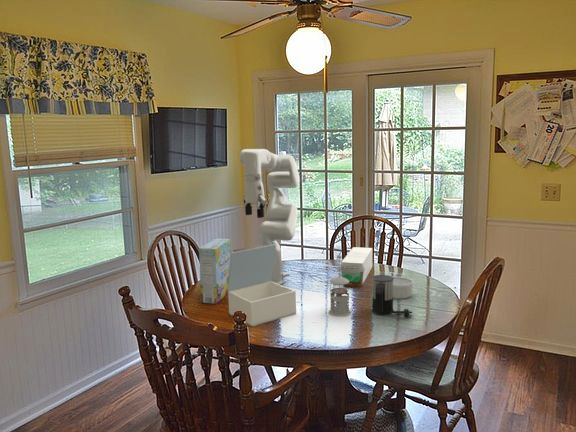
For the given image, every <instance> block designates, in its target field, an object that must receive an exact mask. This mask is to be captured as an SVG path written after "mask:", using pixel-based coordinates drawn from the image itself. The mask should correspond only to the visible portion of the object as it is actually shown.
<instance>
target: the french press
mask: <svg viewBox="0 0 576 432" xmlns="http://www.w3.org/2000/svg"><path fill="white" fill-rule="evenodd" d="M336 258H337V259H338V276H337V277H333V278H332V279H330V280H329V282H330V285H329V292H330V294H329V295H330V296H329V297H330V309H329V310H328V311H327V314H328V315H330V316H331V317H338V318H341V317H343V318H344V317H349V316H350V315H351V314H352V311H351V310H350V294H349V289H348V288H346V287H341V286H343V285H346V284H348V283H349V280H347V279H346V278H343V277H341V272H340V271H341V270H340V267H341V262H340V260H341V259H342V255H341V254H338V255H336ZM332 285H333V287H332ZM335 286H338V287H335ZM331 287H332V288H331Z"/></svg>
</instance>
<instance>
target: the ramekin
mask: <svg viewBox="0 0 576 432" xmlns="http://www.w3.org/2000/svg"><path fill="white" fill-rule="evenodd" d="M393 277H394V279H393V299H395V300H404V299H405V300H406V299H408V298H410V297H411V296H412V292H413V286H414V280H413V279H412V278H409V277H404V276H393Z"/></svg>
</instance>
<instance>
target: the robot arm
mask: <svg viewBox="0 0 576 432" xmlns="http://www.w3.org/2000/svg"><path fill="white" fill-rule="evenodd" d="M238 157H239V162H240V163H241V165H242V166H243V168H244V169H243V170H244V173H243V174H244V195H243V196H242V200H243V203H244V209H245V210H244V211H245V216H251V215H252V214H253V207H252V205H255V206H256V208H257V209H256V213H257V214H256V217H257V218H258V219H262V218H264V217H265V215H266V220H265V221H262V222H261V223H260V225H259V228H258V232H259V238H260V242H261V243H260V245H263V246H268V245H273V244H276V247H275V255H274V262H273V270H272V278H271V281H272V282H275V283H277V284H280V285H282V286H283V285H284V284H285V282H286V280H285V278H286V277H289V276H290V275H291V274H290V272H288V271H287V272H282V249H281V246H280V244H279V242H278V241H280V242H281V241H283V242H284V241H285V242H287V241H291V240H293V239H294V236H295V232H296V228H297V227H296V226H297V222H298V216H299V215H298V214H299V210H298V208H297V206H296V205H295V204H293V203H287V196H286V195H285V193H284V192H283V191H282V190H281V189H294V188H298V187H299V185H300V182H301V181H300V174H299V171H298V170H299V169H298V165H297V163H296V159H295V158H294V156H293V155H291V154H275V153H273V152H270V151H269V150H268V149H266V148H244V149H242V150H241V151H240V153H239V155H238ZM262 170H267V171H270V172H269V173H268V174H267V176H266V184H267V188H268V189H267V190H268V192H269V201H268V206H267V209H266V214H265V211H264V209H265V206H266V203H267V202H266V201H267V200H266V198H265V190H264V188H265V187H264V184H263V181H262V180H263V179H262V177H263V176H262ZM269 282H270V281H269ZM264 283H266V282H264ZM260 284H261V283H260Z"/></svg>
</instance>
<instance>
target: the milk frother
mask: <svg viewBox="0 0 576 432" xmlns="http://www.w3.org/2000/svg"><path fill="white" fill-rule="evenodd" d="M394 277H395V276H392V275H389V274H375V275H373V276H372V277H371V280H372V286H371V287H372V294H371V295H372V298H371V300H372V301H371V302H372V303H371V312H372V313H373V314H375V315H380V316H384V315H386V316H388V315H391V314H403V315H404V316H405V317H406V316H409V315H410V314H413V311H410V310H409V309H408V308H404V309H403V310H395V311H394V298H393V279H394Z"/></svg>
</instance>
